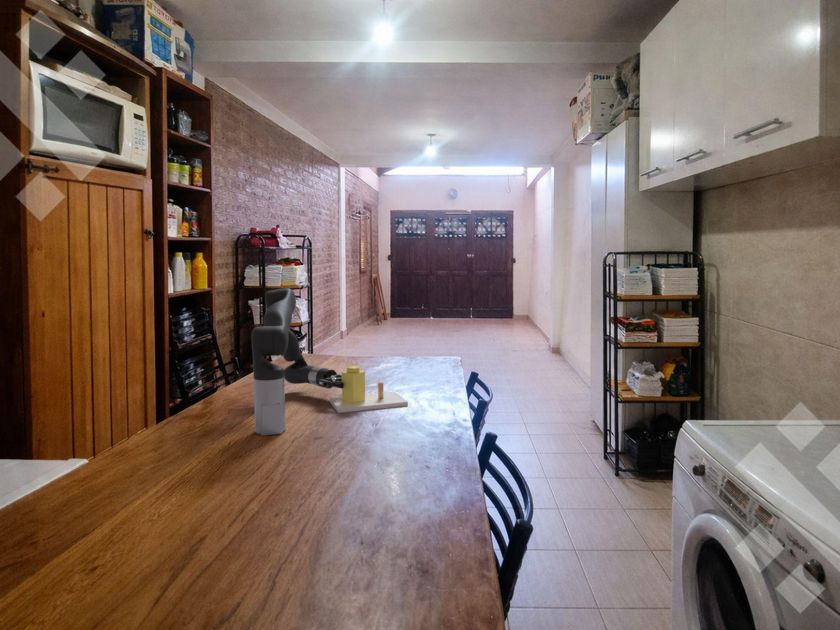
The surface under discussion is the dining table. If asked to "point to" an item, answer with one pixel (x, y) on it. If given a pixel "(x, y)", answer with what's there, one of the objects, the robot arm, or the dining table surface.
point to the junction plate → (370, 401)
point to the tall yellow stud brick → (353, 385)
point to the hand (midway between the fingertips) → (351, 383)
